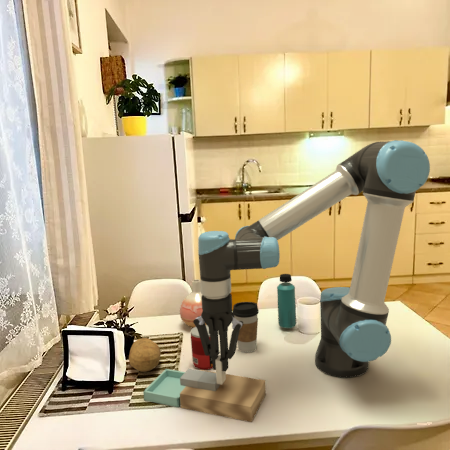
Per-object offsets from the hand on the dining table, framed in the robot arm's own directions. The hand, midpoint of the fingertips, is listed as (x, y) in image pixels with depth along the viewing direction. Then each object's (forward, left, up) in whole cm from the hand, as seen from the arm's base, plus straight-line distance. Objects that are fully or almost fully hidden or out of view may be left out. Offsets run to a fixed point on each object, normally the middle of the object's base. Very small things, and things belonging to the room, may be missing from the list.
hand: (221, 381), depth 107 cm
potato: (+29, -9, -6) cm, 31 cm away
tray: (+15, 0, -6) cm, 16 cm away
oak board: (0, 0, -6) cm, 6 cm away
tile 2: (+3, 0, -2) cm, 4 cm away
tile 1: (+8, 0, -2) cm, 8 cm away
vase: (+26, -41, -6) cm, 49 cm away
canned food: (+12, -16, -6) cm, 21 cm away
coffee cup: (+3, -29, -6) cm, 30 cm away
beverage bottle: (-6, -47, -6) cm, 48 cm away
